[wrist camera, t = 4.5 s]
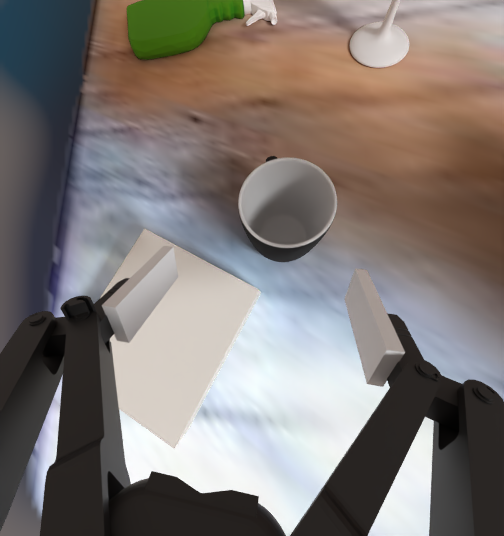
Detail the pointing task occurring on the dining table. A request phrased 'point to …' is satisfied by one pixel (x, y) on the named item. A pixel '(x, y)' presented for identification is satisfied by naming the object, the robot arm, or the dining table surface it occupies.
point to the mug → (286, 207)
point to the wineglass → (380, 42)
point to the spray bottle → (185, 22)
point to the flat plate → (178, 340)
